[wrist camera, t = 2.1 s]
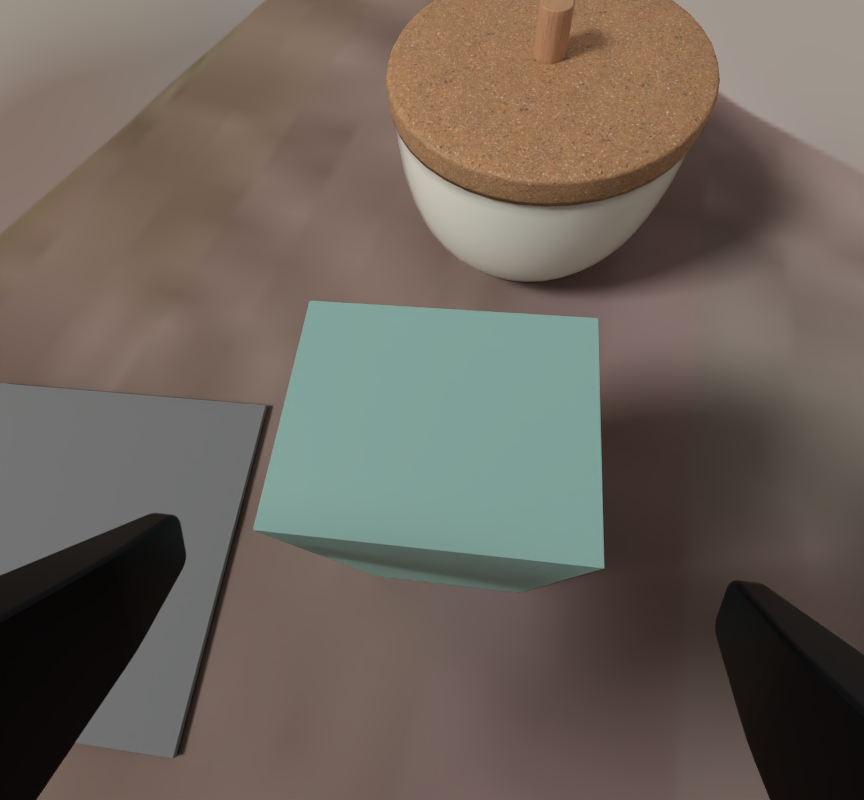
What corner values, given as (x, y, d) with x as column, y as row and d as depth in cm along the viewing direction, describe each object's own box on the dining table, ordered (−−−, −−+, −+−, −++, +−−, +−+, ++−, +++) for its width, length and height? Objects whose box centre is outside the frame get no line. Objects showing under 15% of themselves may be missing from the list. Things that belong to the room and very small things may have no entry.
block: (519, 592, 17) (604, 568, 7) (376, 576, 17) (252, 530, 7) (523, 478, 18) (598, 318, 8) (392, 466, 19) (309, 301, 9)
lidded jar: (365, 264, 23) (305, 54, 14) (479, 122, 26) (487, -119, 17) (578, 367, 20) (665, 185, 11) (675, 194, 23) (800, -51, 15)
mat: (176, 756, 15) (172, 758, 15) (-156, 703, 17) (-163, 705, 16) (267, 407, 20) (265, 405, 20) (3, 385, 21) (-2, 383, 21)
